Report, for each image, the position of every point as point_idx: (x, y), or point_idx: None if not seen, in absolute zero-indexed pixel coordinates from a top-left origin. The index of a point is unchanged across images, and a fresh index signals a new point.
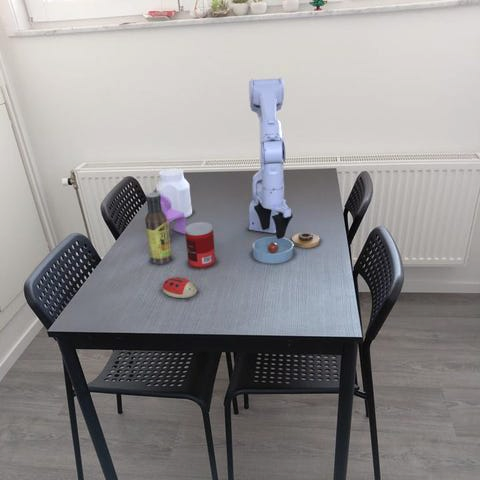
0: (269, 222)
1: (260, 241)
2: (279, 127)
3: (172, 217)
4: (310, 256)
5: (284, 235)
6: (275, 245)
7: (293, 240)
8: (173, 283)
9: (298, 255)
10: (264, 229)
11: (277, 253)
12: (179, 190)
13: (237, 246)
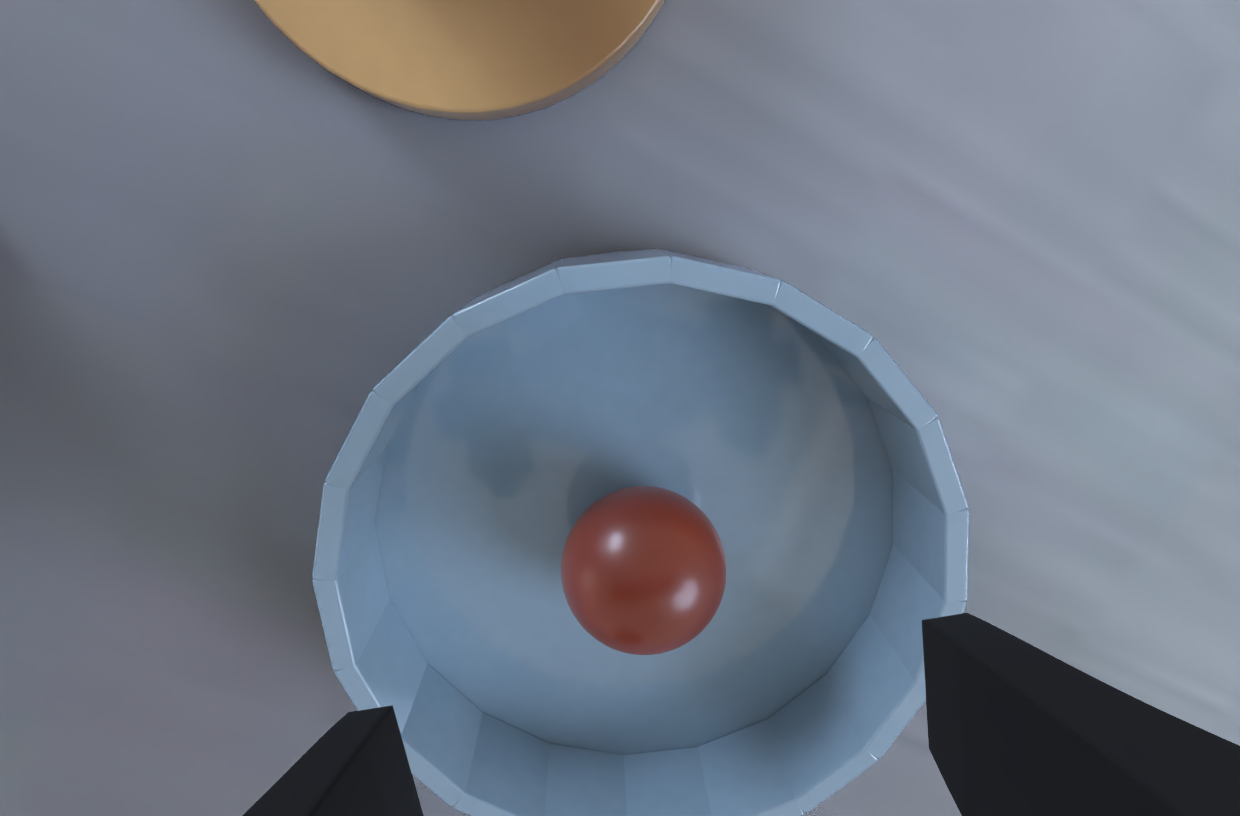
0: (335, 795)
1: (371, 655)
2: None
3: None
4: (957, 82)
5: (995, 630)
6: (707, 582)
7: (443, 101)
8: None
9: (836, 230)
10: (419, 812)
11: None
12: None
13: (226, 810)
